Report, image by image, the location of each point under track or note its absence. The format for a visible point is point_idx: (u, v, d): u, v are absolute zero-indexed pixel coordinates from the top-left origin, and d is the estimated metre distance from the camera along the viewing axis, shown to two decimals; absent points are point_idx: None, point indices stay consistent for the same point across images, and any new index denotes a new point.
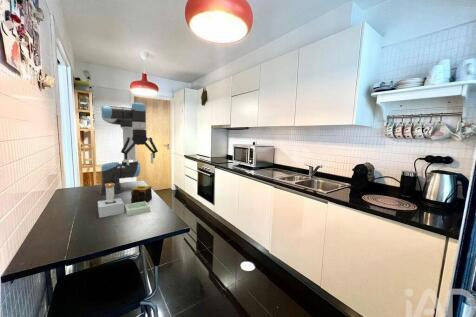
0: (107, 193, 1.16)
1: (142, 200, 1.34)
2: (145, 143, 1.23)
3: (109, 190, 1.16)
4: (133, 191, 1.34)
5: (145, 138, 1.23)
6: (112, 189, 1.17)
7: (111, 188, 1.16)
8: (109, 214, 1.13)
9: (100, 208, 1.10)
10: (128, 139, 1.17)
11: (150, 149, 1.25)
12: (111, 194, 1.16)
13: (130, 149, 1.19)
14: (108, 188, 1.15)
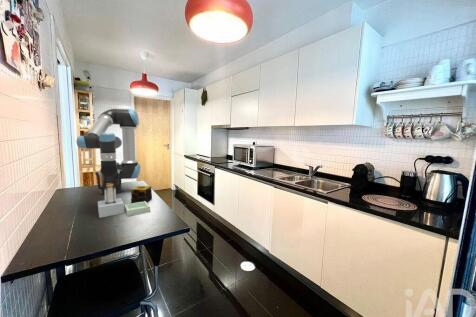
0: (107, 193, 1.16)
1: (142, 200, 1.34)
2: (112, 175, 1.16)
3: (109, 190, 1.16)
4: (133, 191, 1.34)
5: (115, 169, 1.17)
6: (112, 189, 1.17)
7: (111, 188, 1.16)
8: (109, 214, 1.13)
9: (100, 208, 1.10)
10: (97, 174, 1.12)
11: (114, 183, 1.17)
12: (111, 194, 1.16)
13: (105, 183, 1.14)
14: (108, 188, 1.15)
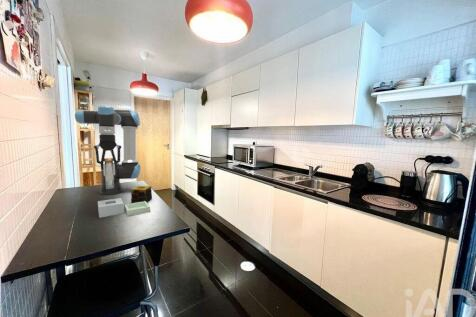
0: (106, 168, 1.14)
1: (142, 200, 1.34)
2: (111, 150, 1.14)
3: (108, 165, 1.14)
4: (133, 191, 1.34)
5: (114, 143, 1.15)
6: (111, 164, 1.15)
7: (110, 163, 1.15)
8: (109, 214, 1.13)
9: (100, 208, 1.10)
10: (95, 148, 1.10)
11: (113, 158, 1.16)
12: (109, 169, 1.15)
13: (103, 158, 1.13)
14: (107, 163, 1.14)
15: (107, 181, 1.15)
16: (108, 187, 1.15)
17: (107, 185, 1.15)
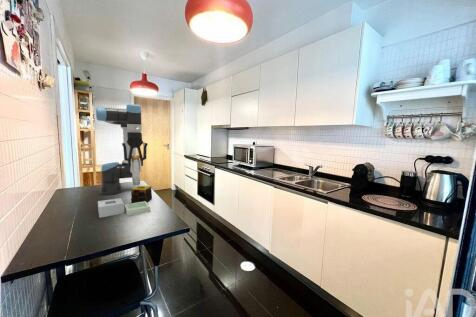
0: (133, 165, 1.17)
1: (142, 200, 1.34)
2: (138, 147, 1.17)
3: (135, 162, 1.17)
4: (133, 191, 1.34)
5: (141, 141, 1.18)
6: (138, 161, 1.18)
7: (137, 160, 1.17)
8: (109, 214, 1.13)
9: (100, 208, 1.10)
10: (124, 145, 1.13)
11: (140, 155, 1.18)
12: (136, 166, 1.17)
13: (131, 155, 1.16)
14: (134, 160, 1.16)
15: (134, 178, 1.17)
16: (135, 184, 1.18)
17: (134, 182, 1.18)
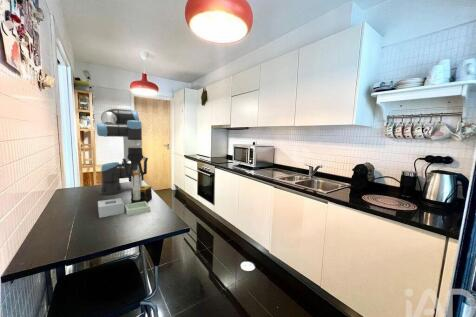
0: (134, 180, 1.18)
1: (142, 200, 1.34)
2: (139, 162, 1.18)
3: (136, 177, 1.18)
4: None
5: (141, 156, 1.19)
6: (138, 176, 1.19)
7: (137, 175, 1.18)
8: (109, 214, 1.13)
9: (100, 208, 1.10)
10: (124, 160, 1.14)
11: (140, 170, 1.19)
12: (137, 181, 1.18)
13: (132, 170, 1.17)
14: (135, 175, 1.17)
15: (134, 193, 1.18)
16: (135, 198, 1.19)
17: (134, 197, 1.19)
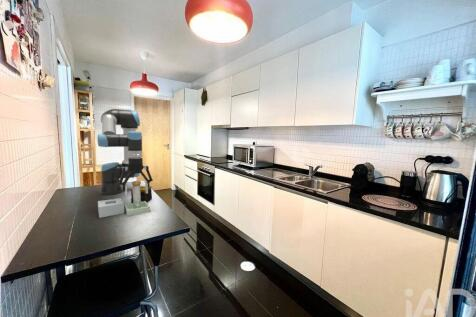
0: (134, 191, 1.18)
1: (142, 200, 1.34)
2: (141, 172, 1.19)
3: (136, 188, 1.18)
4: None
5: (141, 166, 1.20)
6: (139, 187, 1.20)
7: (138, 186, 1.19)
8: (109, 214, 1.13)
9: (100, 208, 1.10)
10: (124, 169, 1.14)
11: (145, 178, 1.21)
12: (137, 192, 1.19)
13: (127, 179, 1.16)
14: (135, 186, 1.18)
15: (135, 203, 1.19)
16: None
17: (135, 207, 1.20)
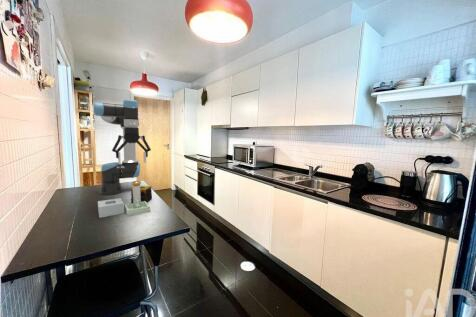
0: (134, 191, 1.18)
1: (142, 200, 1.34)
2: (137, 141, 1.19)
3: (136, 188, 1.18)
4: None
5: (137, 136, 1.19)
6: (139, 187, 1.20)
7: (138, 186, 1.19)
8: (109, 214, 1.13)
9: (100, 208, 1.10)
10: (119, 137, 1.13)
11: (143, 148, 1.21)
12: (137, 192, 1.19)
13: (121, 147, 1.14)
14: (135, 186, 1.18)
15: (135, 204, 1.19)
16: None
17: (135, 207, 1.20)
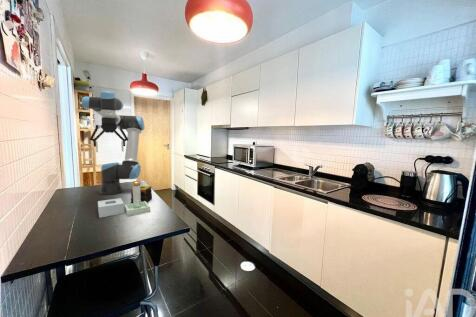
0: (134, 191, 1.18)
1: (142, 200, 1.34)
2: (114, 131, 1.25)
3: (136, 188, 1.18)
4: None
5: (114, 126, 1.26)
6: (139, 187, 1.20)
7: (138, 186, 1.19)
8: (109, 214, 1.13)
9: (100, 208, 1.10)
10: (96, 126, 1.20)
11: (120, 137, 1.28)
12: (137, 192, 1.19)
13: (99, 136, 1.21)
14: (135, 186, 1.18)
15: (135, 204, 1.19)
16: None
17: (135, 207, 1.20)
